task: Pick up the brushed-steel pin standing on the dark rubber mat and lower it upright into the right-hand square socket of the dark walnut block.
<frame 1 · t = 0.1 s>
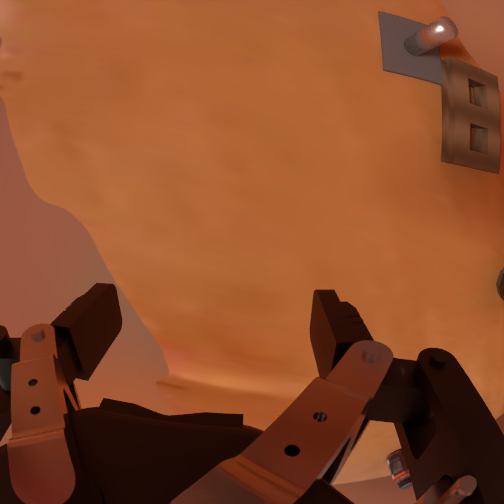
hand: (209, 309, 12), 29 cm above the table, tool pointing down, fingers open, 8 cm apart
pin: (412, 46, 31), resting on mat
socket block: (466, 116, 34), on the table
mat: (411, 47, 31), on the table
supplement bottle: (396, 453, 59), on the table
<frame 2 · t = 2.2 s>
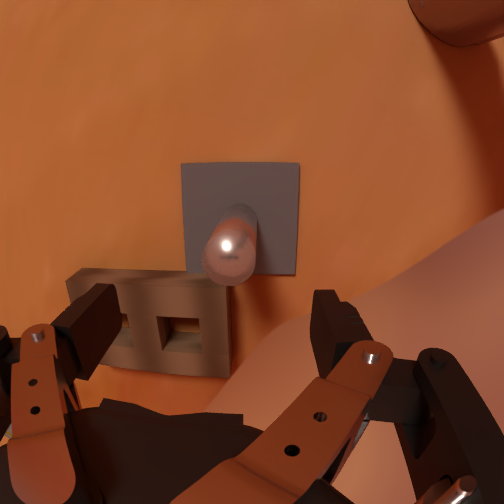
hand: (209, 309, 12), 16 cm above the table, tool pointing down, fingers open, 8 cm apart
pin: (239, 220, 26), resting on mat
socket block: (155, 314, 30), on the table
mat: (240, 219, 27), on the table
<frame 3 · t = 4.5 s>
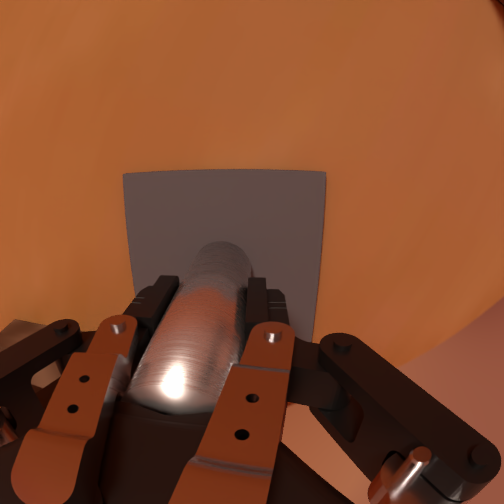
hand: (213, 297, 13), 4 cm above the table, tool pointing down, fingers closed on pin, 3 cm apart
pin: (221, 269, 16), resting on mat, touching gripper
socket block: (110, 387, 19), on the table
mat: (222, 266, 16), on the table
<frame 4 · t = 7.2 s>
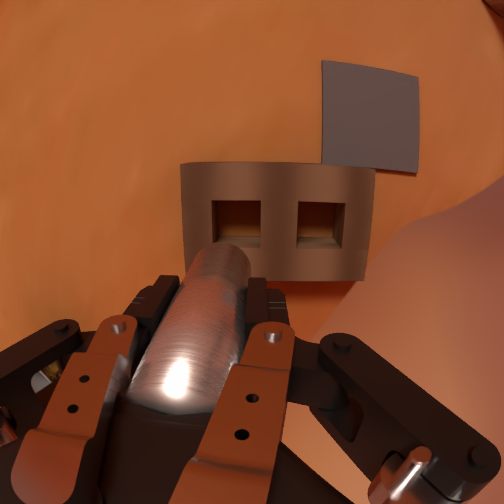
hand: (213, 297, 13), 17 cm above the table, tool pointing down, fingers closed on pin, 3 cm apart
pin: (221, 270, 15), point 13 cm above the table, touching gripper
ceramic cup: (72, 337, 34), on the table
socket block: (276, 215, 28), on the table
mat: (373, 116, 25), on the table
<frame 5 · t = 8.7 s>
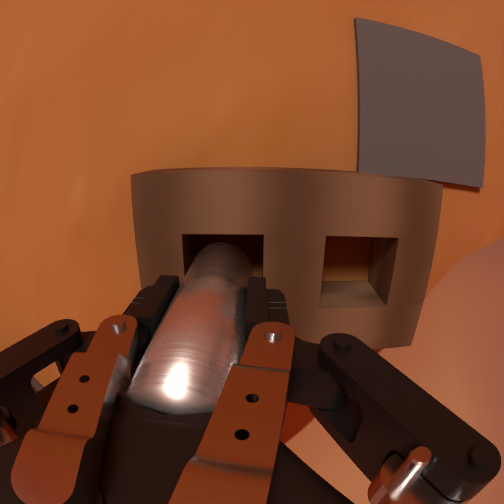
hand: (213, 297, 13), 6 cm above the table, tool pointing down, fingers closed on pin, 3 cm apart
pin: (221, 270, 16), point 3 cm above the table, touching gripper
socket block: (287, 251, 18), on the table
mat: (428, 103, 15), on the table
when the fingers open (5 cm above the table, at t = 10.0 s): pin drops 1 cm, resting in socket block.
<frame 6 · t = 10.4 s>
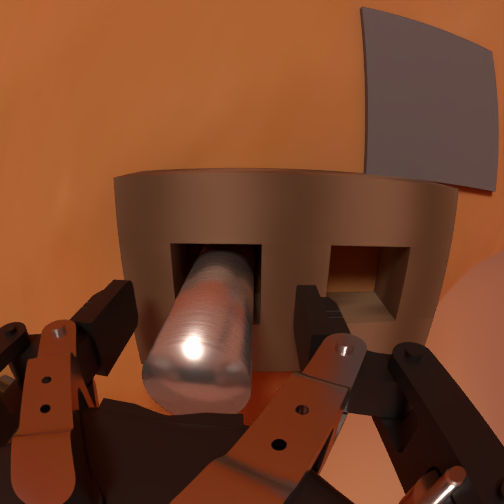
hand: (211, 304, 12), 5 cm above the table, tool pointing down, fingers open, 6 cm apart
pin: (227, 259, 17), resting in socket block
socket block: (287, 260, 17), on the table
mat: (439, 100, 14), on the table
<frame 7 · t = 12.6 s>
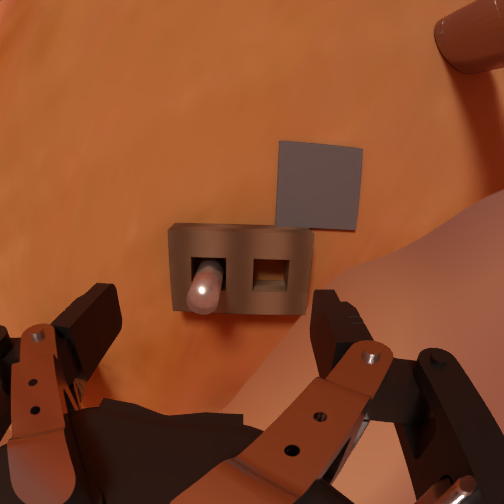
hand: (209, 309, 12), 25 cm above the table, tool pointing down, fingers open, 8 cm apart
pin: (213, 263, 37), resting in socket block
socket block: (240, 264, 38), on the table
mat: (319, 186, 35), on the table
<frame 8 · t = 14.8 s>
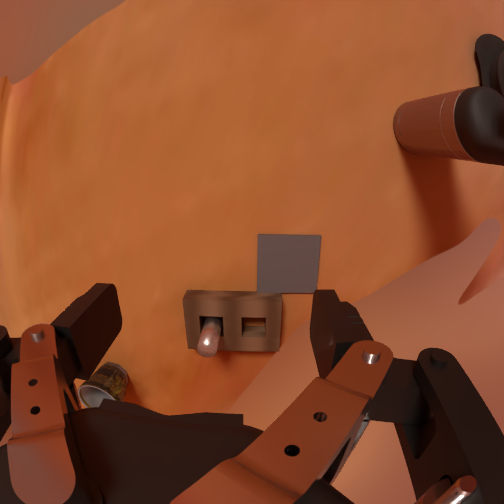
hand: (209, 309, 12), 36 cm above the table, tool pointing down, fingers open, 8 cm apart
pin: (215, 315, 53), resting in socket block
ceramic cup: (118, 370, 59), on the table
socket block: (233, 316, 53), on the table
mat: (288, 264, 50), on the table
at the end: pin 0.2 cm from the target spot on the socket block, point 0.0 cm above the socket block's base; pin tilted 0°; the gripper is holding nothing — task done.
